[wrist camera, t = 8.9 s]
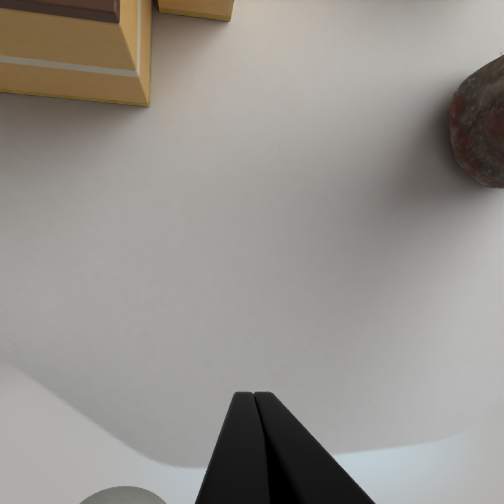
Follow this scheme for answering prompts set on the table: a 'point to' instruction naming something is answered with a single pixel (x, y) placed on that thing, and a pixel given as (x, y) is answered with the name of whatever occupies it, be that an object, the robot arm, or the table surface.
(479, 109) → the candle
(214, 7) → the cake slice
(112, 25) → the cake
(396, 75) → the table surface
